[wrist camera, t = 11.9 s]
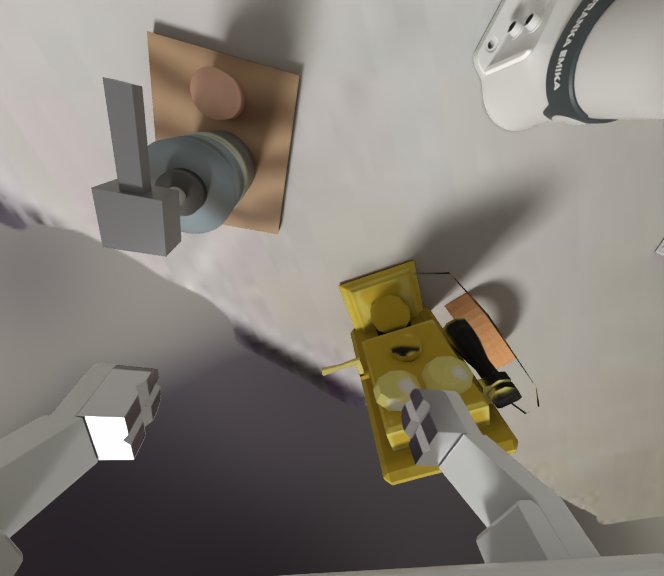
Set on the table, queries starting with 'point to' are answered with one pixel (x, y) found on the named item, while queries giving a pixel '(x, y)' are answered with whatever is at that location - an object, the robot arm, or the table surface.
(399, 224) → the table surface
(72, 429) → the robot arm
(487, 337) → the arch
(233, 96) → the pink egg shape
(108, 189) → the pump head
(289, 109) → the stand
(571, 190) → the table surface
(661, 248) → the ink cartridge box
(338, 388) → the table surface
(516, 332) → the table surface
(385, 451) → the vintage telephone
